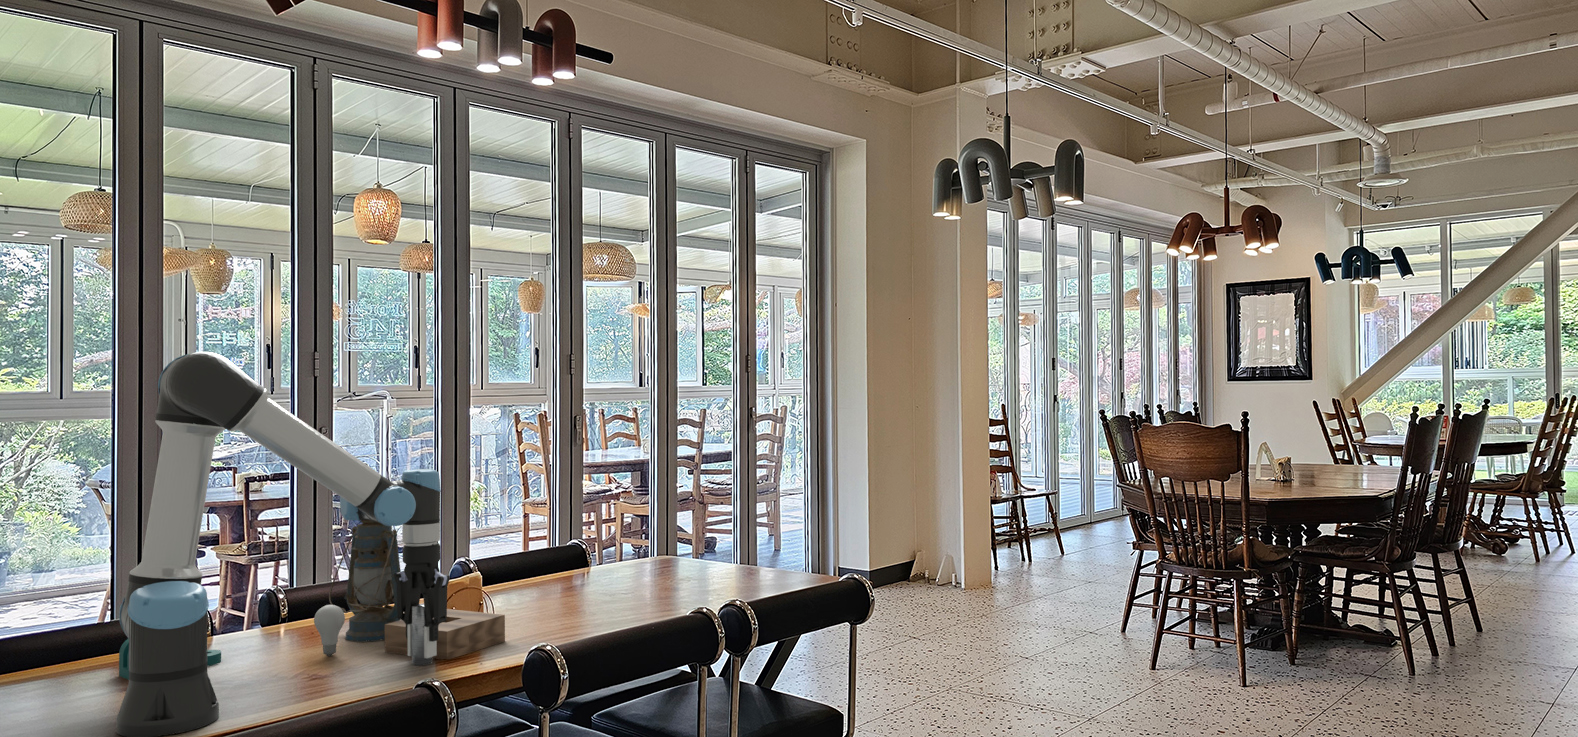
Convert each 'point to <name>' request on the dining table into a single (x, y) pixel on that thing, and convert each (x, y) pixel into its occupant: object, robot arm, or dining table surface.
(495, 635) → the walnut block
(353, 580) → the lantern
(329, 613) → the lightbulb
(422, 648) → the pin
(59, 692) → the dining table surface
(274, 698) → the dining table surface
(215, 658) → the bracket
